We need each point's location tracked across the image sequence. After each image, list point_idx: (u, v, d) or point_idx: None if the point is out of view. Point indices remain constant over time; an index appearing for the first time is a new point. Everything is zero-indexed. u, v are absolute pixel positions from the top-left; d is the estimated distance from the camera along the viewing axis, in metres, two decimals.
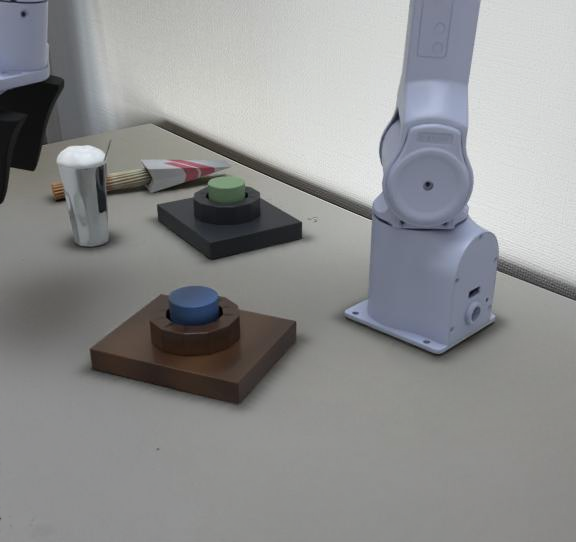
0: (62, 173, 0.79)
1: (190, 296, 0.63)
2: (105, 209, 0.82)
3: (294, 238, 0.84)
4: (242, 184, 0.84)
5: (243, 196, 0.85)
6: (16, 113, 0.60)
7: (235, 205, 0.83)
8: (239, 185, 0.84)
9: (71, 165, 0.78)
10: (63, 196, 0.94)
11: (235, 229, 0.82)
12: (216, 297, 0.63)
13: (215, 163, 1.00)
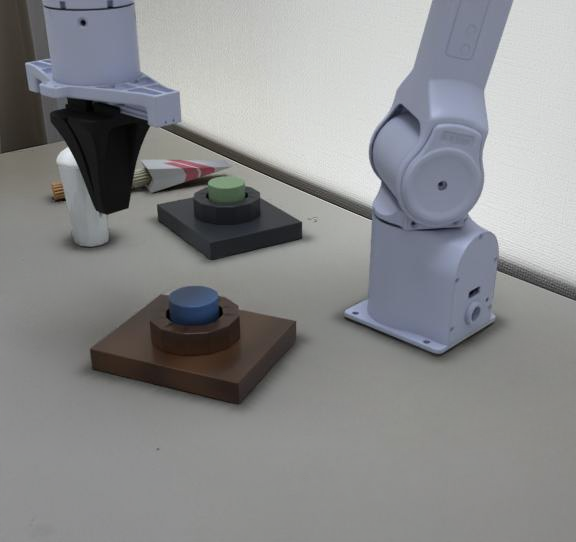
0: (62, 173, 0.79)
1: (190, 296, 0.63)
2: None
3: (294, 238, 0.84)
4: (242, 184, 0.84)
5: (243, 196, 0.85)
6: None
7: (235, 205, 0.83)
8: (239, 185, 0.84)
9: (71, 165, 0.78)
10: (63, 196, 0.94)
11: (235, 229, 0.82)
12: (216, 297, 0.63)
13: (215, 163, 1.00)
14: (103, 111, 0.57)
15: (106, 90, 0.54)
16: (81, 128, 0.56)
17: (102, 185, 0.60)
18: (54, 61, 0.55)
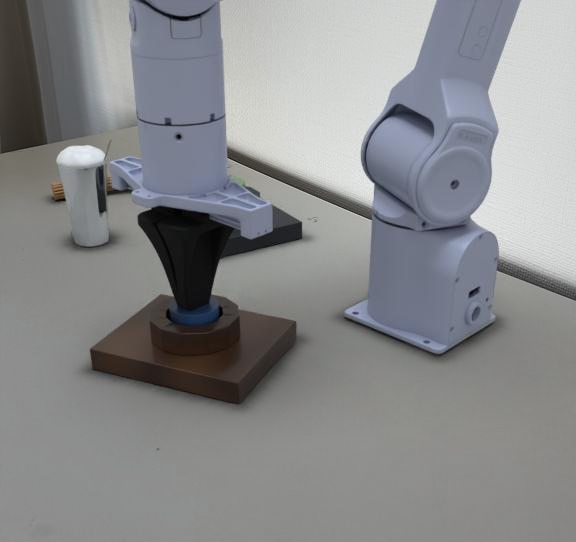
0: (62, 173, 0.79)
1: None
2: (105, 209, 0.82)
3: (294, 238, 0.84)
4: (242, 184, 0.84)
5: None
6: None
7: None
8: None
9: (71, 165, 0.78)
10: (63, 196, 0.94)
11: (235, 229, 0.82)
12: (216, 305, 0.63)
13: None
14: (192, 216, 0.58)
15: (199, 201, 0.55)
16: (172, 235, 0.57)
17: (187, 285, 0.61)
18: (147, 171, 0.56)
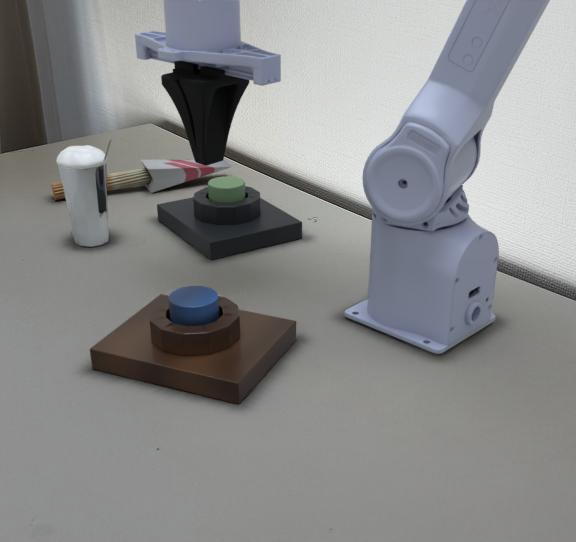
0: (62, 173, 0.79)
1: (190, 296, 0.63)
2: (105, 209, 0.82)
3: (294, 238, 0.84)
4: (242, 184, 0.84)
5: (243, 196, 0.85)
6: None
7: (235, 205, 0.83)
8: (239, 185, 0.84)
9: (71, 165, 0.78)
10: (63, 196, 0.94)
11: (235, 229, 0.82)
12: (216, 297, 0.63)
13: (215, 163, 1.00)
14: (210, 73, 0.66)
15: (217, 54, 0.64)
16: (192, 88, 0.66)
17: (204, 139, 0.69)
18: (171, 30, 0.65)
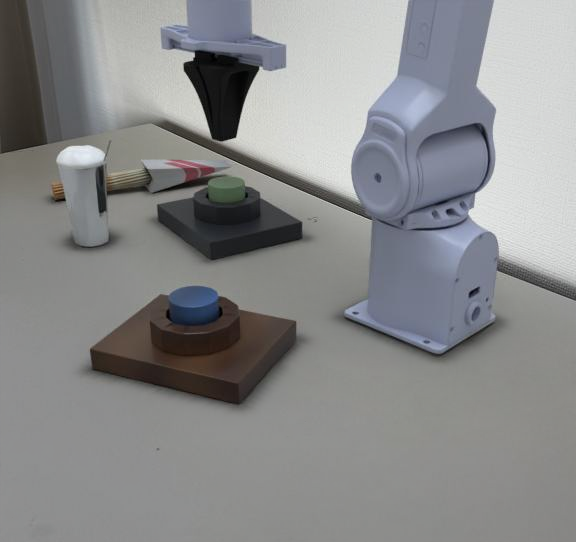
0: (62, 173, 0.79)
1: (190, 296, 0.63)
2: (105, 209, 0.82)
3: (294, 238, 0.84)
4: (242, 184, 0.84)
5: (243, 196, 0.85)
6: None
7: (235, 205, 0.83)
8: (239, 185, 0.84)
9: (71, 165, 0.78)
10: (63, 196, 0.94)
11: (235, 229, 0.82)
12: (216, 297, 0.63)
13: (215, 163, 1.00)
14: (225, 61, 0.77)
15: (232, 44, 0.74)
16: (210, 73, 0.76)
17: (220, 118, 0.80)
18: (192, 23, 0.75)
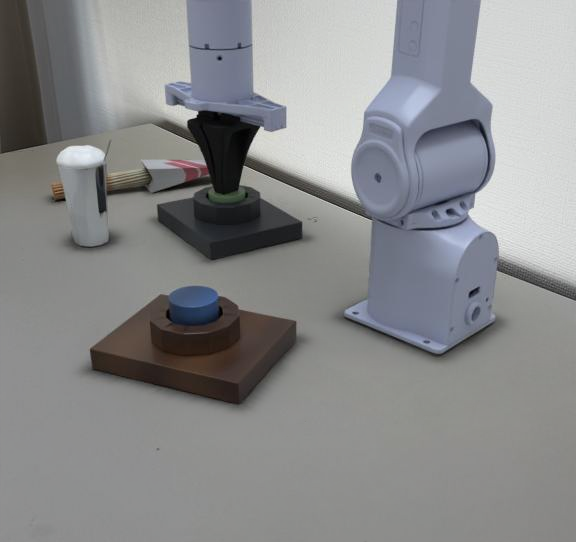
0: (62, 173, 0.79)
1: (190, 296, 0.63)
2: (105, 209, 0.82)
3: (294, 238, 0.84)
4: (242, 193, 0.85)
5: None
6: None
7: (235, 205, 0.83)
8: (239, 194, 0.84)
9: (71, 165, 0.78)
10: (63, 196, 0.94)
11: (235, 229, 0.82)
12: (216, 297, 0.63)
13: None
14: (227, 119, 0.80)
15: (234, 105, 0.77)
16: (213, 132, 0.79)
17: (223, 173, 0.82)
18: (195, 85, 0.78)
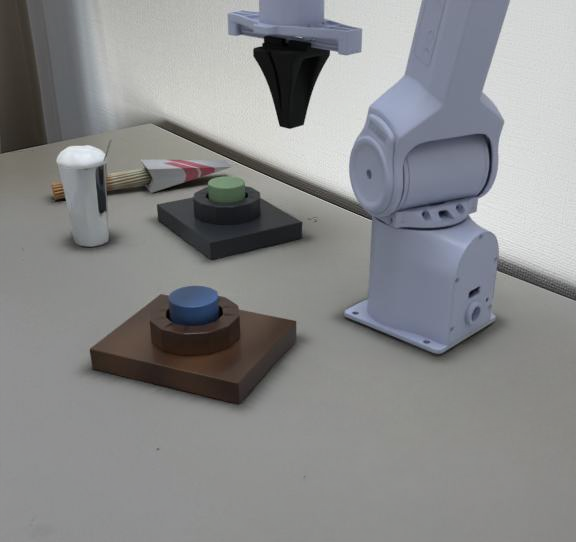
0: (62, 173, 0.79)
1: (190, 296, 0.63)
2: (105, 209, 0.82)
3: (294, 238, 0.84)
4: (242, 184, 0.84)
5: (243, 196, 0.85)
6: None
7: (235, 205, 0.83)
8: (239, 185, 0.84)
9: (71, 165, 0.78)
10: (63, 196, 0.94)
11: (235, 229, 0.82)
12: (216, 297, 0.63)
13: (215, 163, 1.00)
14: (297, 46, 0.76)
15: (307, 28, 0.73)
16: (283, 58, 0.75)
17: (290, 104, 0.79)
18: (265, 8, 0.74)
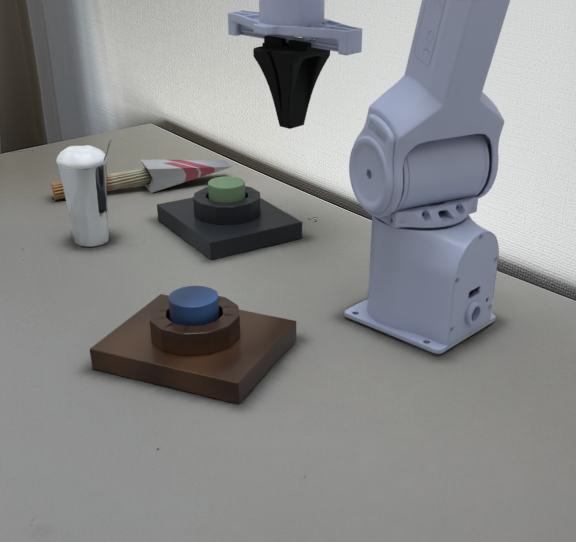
0: (62, 173, 0.79)
1: (190, 296, 0.63)
2: (105, 209, 0.82)
3: (294, 238, 0.84)
4: (242, 184, 0.84)
5: (243, 196, 0.85)
6: None
7: (235, 205, 0.83)
8: (239, 185, 0.84)
9: (71, 165, 0.78)
10: (63, 196, 0.94)
11: (235, 229, 0.82)
12: (216, 297, 0.63)
13: (215, 163, 1.00)
14: (297, 46, 0.76)
15: (307, 28, 0.73)
16: (283, 58, 0.75)
17: (290, 104, 0.79)
18: (265, 7, 0.74)
